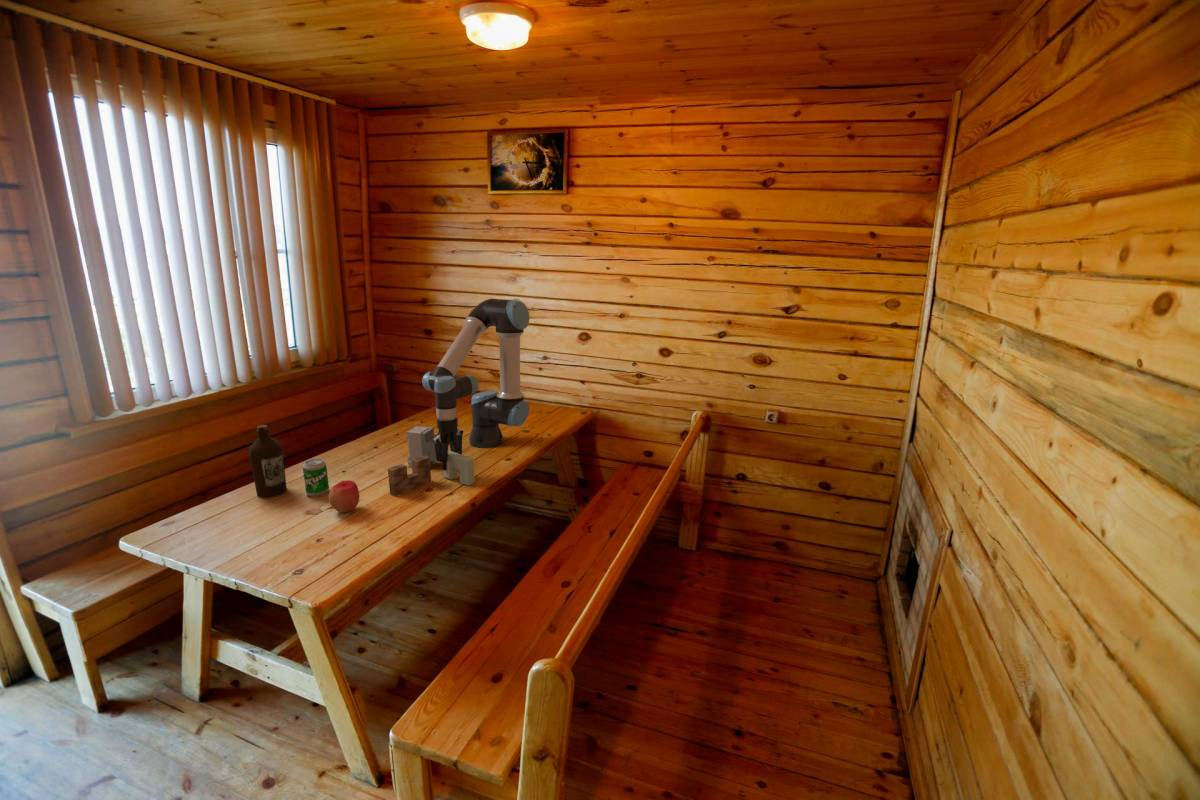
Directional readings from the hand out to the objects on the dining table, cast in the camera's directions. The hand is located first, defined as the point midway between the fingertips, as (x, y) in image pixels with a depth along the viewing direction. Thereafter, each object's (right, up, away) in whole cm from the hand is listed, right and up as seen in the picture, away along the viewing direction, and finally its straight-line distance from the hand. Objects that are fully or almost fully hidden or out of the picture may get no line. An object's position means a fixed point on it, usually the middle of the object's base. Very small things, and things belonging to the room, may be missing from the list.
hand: (450, 475), depth 222 cm
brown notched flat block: (-12, -3, -10) cm, 16 cm away
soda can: (-44, -5, -15) cm, 47 cm away
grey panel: (+4, -1, -2) cm, 5 cm away
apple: (-28, -8, -28) cm, 40 cm away
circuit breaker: (-12, +2, +12) cm, 17 cm away
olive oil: (-60, -4, -15) cm, 62 cm away
